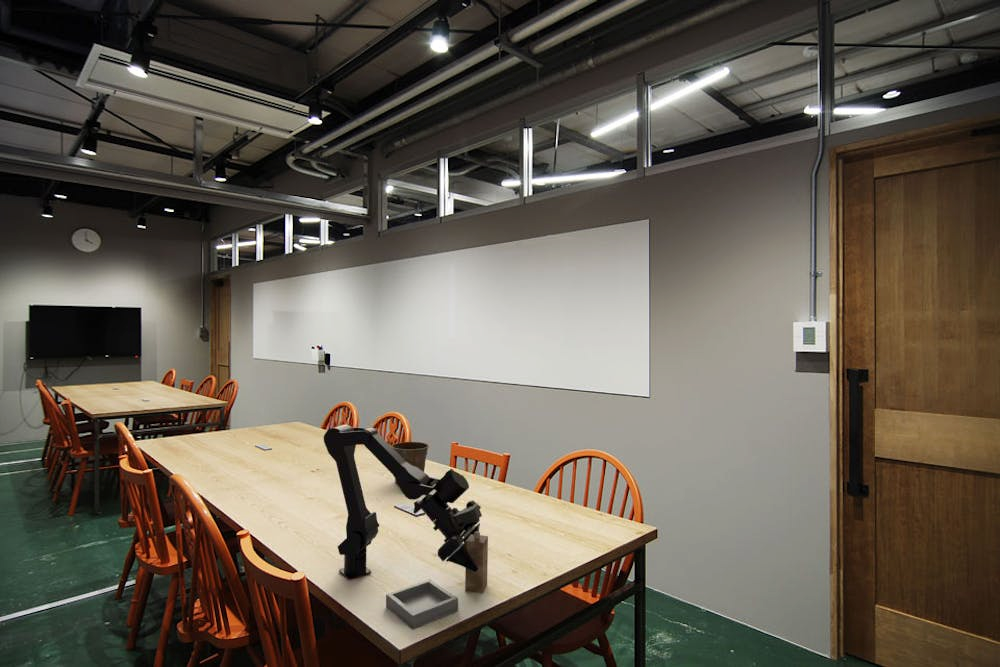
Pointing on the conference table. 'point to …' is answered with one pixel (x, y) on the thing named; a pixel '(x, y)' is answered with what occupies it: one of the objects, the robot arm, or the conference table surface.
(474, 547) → the block
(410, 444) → the plant pot
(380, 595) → the conference table surface
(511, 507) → the conference table surface
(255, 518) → the conference table surface
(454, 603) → the tray
